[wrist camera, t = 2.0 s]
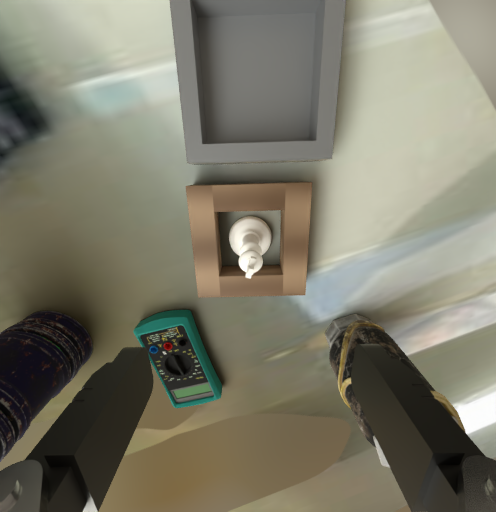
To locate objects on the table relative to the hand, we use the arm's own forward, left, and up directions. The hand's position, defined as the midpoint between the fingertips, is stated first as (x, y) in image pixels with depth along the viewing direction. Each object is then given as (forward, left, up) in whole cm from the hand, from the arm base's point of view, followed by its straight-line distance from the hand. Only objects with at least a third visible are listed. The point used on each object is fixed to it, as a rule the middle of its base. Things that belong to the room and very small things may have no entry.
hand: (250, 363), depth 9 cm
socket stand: (0, 0, -19) cm, 19 cm away
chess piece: (0, 0, -19) cm, 19 cm away
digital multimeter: (+17, -10, -19) cm, 28 cm away
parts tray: (-15, +1, -19) cm, 24 cm away
